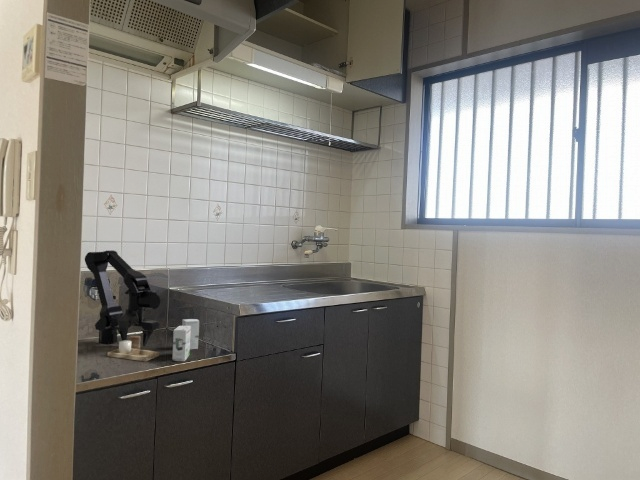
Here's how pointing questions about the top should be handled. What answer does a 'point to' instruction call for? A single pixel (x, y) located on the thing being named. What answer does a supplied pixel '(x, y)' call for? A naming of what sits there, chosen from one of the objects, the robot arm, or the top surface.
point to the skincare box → (192, 331)
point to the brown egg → (135, 342)
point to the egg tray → (135, 354)
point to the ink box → (181, 343)
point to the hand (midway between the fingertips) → (134, 344)
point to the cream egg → (125, 347)
